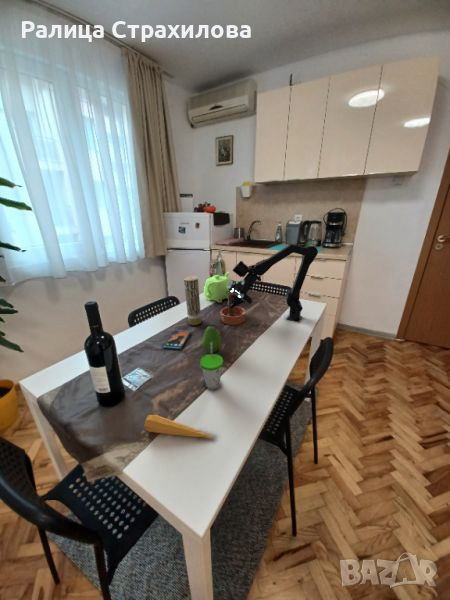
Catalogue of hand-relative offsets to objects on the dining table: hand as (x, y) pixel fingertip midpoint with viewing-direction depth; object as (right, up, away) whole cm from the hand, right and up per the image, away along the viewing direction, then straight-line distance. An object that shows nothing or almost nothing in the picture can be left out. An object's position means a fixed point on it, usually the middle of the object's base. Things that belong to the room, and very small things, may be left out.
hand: (228, 306), depth 123 cm
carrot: (-15, -34, -57) cm, 68 cm away
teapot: (-3, +4, +35) cm, 35 cm away
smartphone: (-24, -15, -12) cm, 31 cm away
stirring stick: (+1, -6, +3) cm, 7 cm away
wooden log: (-18, -9, +4) cm, 20 cm away
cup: (-6, -26, -40) cm, 48 cm away
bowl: (+2, -7, +6) cm, 9 cm away
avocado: (-7, -19, -21) cm, 29 cm away
